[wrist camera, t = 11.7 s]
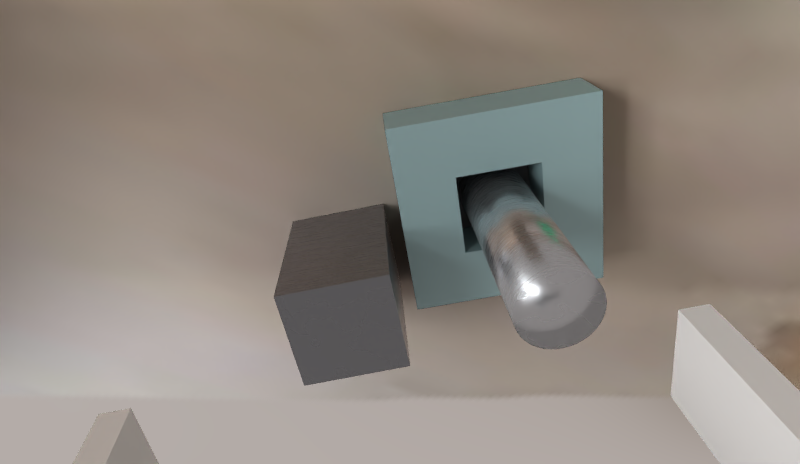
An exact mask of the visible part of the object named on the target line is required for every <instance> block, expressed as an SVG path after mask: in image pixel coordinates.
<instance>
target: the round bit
mask: <svg viewBox="0 0 800 464" xmlns="http://www.w3.org/2000/svg"><path fill="white" fill-rule="evenodd" d="M459 194H460V198H461V201H462V204H463V206H464V208H465V211H466V213H467V215H468V218H469V220H470V222H471V225H472V227H473V230H474V232H475V234H476V237H477V239H478V241H479V244H480V246H481V249H482V251H483V253H484V256H485V258H486V260H487V263H488V265H489V267H490V270H491V272H492V275H493V277H494V279H495V282H496V284H497V286H498V289H499V291H500V294H501V296H502V298H503V301H504V303H505V305H506V308H507V310H508V313H509V315H510V317H511V320H512V322H513V324H514V327H515V329H516V331H517V333H518V334H519V335H520V337H521V338H522V339H524V340H525V341H526V342H528V343H529V344H531V345H533V346H536V347H539V348H543V349H560V348H565V347H569V346H572V345H574V344H577V343H579V342H580V341H582V340H584V339H585V338H587V337H588V336H589V335H590V334H592V333H593V332H594V331H595V329H596V328H597V327H598V326H599V324H600V323H601V321H602V319H603V317H604V314H605V311H606V305H607V300H606V294H605V291H604V289H603V287H602V286H601V284H600V283H599V281H598V280H597V279H596V277H595V276H594V275H593V273H592V272H591V270H590V269H589V268H588V266H587V265H586V264H585V262H584V261H583V260H582V258H581V257H580V256H579V254H578V253H577V252H576V250H575V249H574V247H573V246H572V245H571V243H570V242H569V241H568V239H567V238H566V237H565V235H564V234H563V233H562V231H561V230H560V229H559V227H558V226H557V225H556V223H555V222H554V220H553V219H552V218H551V216H550V215H549V214H548V212H547V211H546V210H545V208H544V207H543V206H542V204H541V203H540V202H539V200H538V199H537V197H536V196H535V195H534V193H533V192H532V191H531V189H530V188H529V187H528V185H527V184H526V183H525V181H524V180H523V179H522V177H521V176H520V175H519V173H518V172H517V170H516V169H515V168H514V167H513V168H507V169H501V170H496V171H490V172H485V173H479V174H473V175H468V176H463V178H462V180H461V182H460V187H459Z"/></svg>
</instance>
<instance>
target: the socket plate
mask: <svg viewBox="0 0 800 464" xmlns="http://www.w3.org/2000/svg"><path fill="white" fill-rule="evenodd" d="M383 120H384V128H385V134H386V139H387V145H388V150H389V155H390V161H391V166H392V172H393V177H394V183H395V188H396V194H397V199H398V205H399V210H400V216H401V221H402V227H403V232H404V238H405V243H406V248H407V254H408V259H409V265H410V270H411V276H412V281H413V287H414V292H415V298H416V303H417V309H424V308H429V307H435V306H441V305H447V304H452V303H458V302H464V301H470V300H475V299H481V298H487V297H493V296H498V295H501V294H500V291H499V289H498V286H497V284H496V282H495V279H494V277H493V275H492V272H491V270H490V267H489V265H488V263H487V260H486V258H485V256H484V253H483V251H482V249H481V246H480V244H479V241H478V239H477V237H476V234H475V232H474V230H473V227H472V225H471V222H470V220H469V218H468V215H467V213H466V211H465V208H464V206H463V204H462V201H461V198H460V194H459V187H460V182H461V180H462V178H463V176H468V175H473V174H479V173H485V172H490V171H496V170H501V169H507V168H513V167H514V168H515V169H516V170H517V172H518V173H519V175H520V176H521V177H522V179H523V180H524V181H525V183H526V184H527V185H528V187H529V188H530V189H531V191H532V192H533V193H534V195H535V196H536V197H537V199H538V200H539V202H540V203H541V204H542V206H543V207H544V208H545V210H546V211H547V212H548V214H549V215H550V216H551V218H552V219H553V220H554V222H555V223H556V225H557V226H558V227H559V229H560V230H561V231H562V233H563V234H564V235H565V237H566V238H567V239H568V241H569V242H570V243H571V245H572V246H573V247H574V249H575V250H576V252H577V253H578V254H579V256H580V257H581V258H582V260H583V261H584V262H585V264H586V265H587V266H588V268H589V269H590V270H591V272H592V273H593V275H594V276H595V277H596V279H597V278H602V277H603V90H601V89H599V88H597V87H596V86H594V85H592V84H590V83H589V82H587V81H585V80H584V79H582V78H576V79H570V80H565V81H559V82H554V83H548V84H543V85H537V86H531V87H526V88H520V89H515V90H509V91H504V92H498V93H493V94H487V95H482V96H476V97H471V98H465V99H459V100H454V101H448V102H443V103H437V104H432V105H426V106H421V107H415V108H410V109H404V110H398V111H393V112H387V113H383Z"/></svg>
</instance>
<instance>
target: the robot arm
mask: <svg viewBox="0 0 800 464" xmlns="http://www.w3.org/2000/svg"><path fill="white" fill-rule="evenodd" d="M671 397H672V399H673V400H674V401H675V403H676V404H677V405H678V406H679V408H680V410H681V411H682V412H683V414H684V415H685V416H686V418H687V419H688V421H689V422H690V423H691V425H692V426H693V427H694V429H695V430H696V432H697V433H698V434H699V436H700V437H701V438H702V440H703V441H704V443H705V444H706V445H707V447H708V448H709V449H710V451H711V452H712V453H713V455H714V456H715V458H716V459H717V460H718V462H719V463H720V464H800V391H799V390H798V389H797V388H796V387H795V386H794V385H793V384H792V383H791V382H790V381H789V380H788V379H787V378H786V377H785V376H784V375H783V374H782V373H781V372H780V371H779V370H778V369H777V368H775V367H774V366H773V365H772V364H771V363H770V362H769V361H768V360H767V359H766V358H765V357H764V356H763V355H762V354H761V353H760V352H759V351H758V350H757V349H756V348H755V347H754V346H753V345H752V344H751V343H750V342H749V341H748V340H747V339H746V338H745V337H744V336H743V335H742V334H741V333H740V332H738V331H737V330H736V329H735V328H734V327H733V326H732V325H731V324H730V323H729V322H728V321H727V320H726V319H725V318H724V317H723V316H722V315H721V314H720V313H719V312H718V311H717V310H716V309H715V308H714V307H713V306H712V305H711V304H707V305H701V306H696V307H690V308H685V309H679V310H678V321H677V332H676V343H675V354H674V365H673V376H672V387H671ZM73 464H159V463H158V462H157V459H156V457H155V455H154V453H153V451H152V449H151V447H150V445H149V443H148V441H147V439H146V438H145V435H144V433H143V431H142V429H141V427H140V425H139V423H138V421H137V419H136V418H135V415H134V414H133V411H132V409H131V408H130V409H125V410H119V411H113V412H108V413H102V414H98V417H97V418H96V420H95V422H94V424H93V426H92V428H91V430H90V432H89V434H88V435H87V437H86V439H85V441H84V443H83V445H82V447H81V449H80V451H79V452H78V455H77V456H76V458H75V460H74V462H73Z"/></svg>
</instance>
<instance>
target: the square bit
mask: <svg viewBox="0 0 800 464" xmlns="http://www.w3.org/2000/svg"><path fill="white" fill-rule="evenodd" d="M274 299H275V302H276V305H277V308H278V310H279V313H280V316H281V319H282V322H283V325H284V328H285V331H286V334H287V337H288V340H289V342H290V345H291V348H292V351H293V354H294V357H295V360H296V363H297V366H298V369H299V372H300V374H301V377H302V380H303V383H304V386H305V385H310V384H316V383H321V382H326V381H332V380H337V379H342V378H348V377H353V376H358V375H364V374H369V373H374V372H380V371H385V370H390V369H396V368H401V367H406V366H410V361H409V353H408V344H407V335H406V327H405V318H404V310H403V301H402V292H401V284H400V278H399V273H398V269H397V264H396V260H395V255H394V251H393V246H392V241H391V237H390V232H389V228H388V223H387V219H386V214H385V209H384V205H383V204H380V205H375V206H370V207H365V208H360V209H355V210H349V211H344V212H339V213H334V214H329V215H324V216H319V217H314V218H309V219H304V220H298V221H293V224H292V228H291V232H290V235H289V239H288V243H287V247H286V251H285V255H284V259H283V263H282V267H281V271H280V275H279V279H278V283H277V286H276V290H275V294H274Z"/></svg>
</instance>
